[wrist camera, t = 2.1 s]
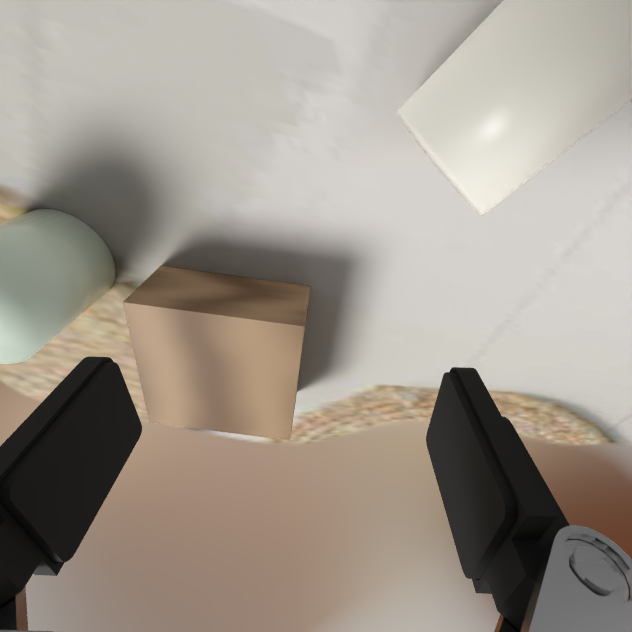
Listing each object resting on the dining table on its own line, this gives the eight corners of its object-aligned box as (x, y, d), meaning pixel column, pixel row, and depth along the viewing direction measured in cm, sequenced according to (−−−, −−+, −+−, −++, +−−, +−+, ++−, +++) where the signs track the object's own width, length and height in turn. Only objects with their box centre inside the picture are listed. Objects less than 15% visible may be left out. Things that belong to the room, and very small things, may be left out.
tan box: (310, 284, 23) (304, 326, 19) (297, 389, 28) (289, 440, 24) (162, 264, 23) (122, 302, 19) (177, 373, 28) (149, 422, 24)
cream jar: (386, 103, 17) (573, -99, 13) (456, 192, 19) (631, 46, 15) (413, 118, 12) (734, -207, 8) (503, 236, 14) (781, 35, 10)
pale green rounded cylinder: (97, 210, 21) (1, 255, 15) (127, 300, 24) (59, 366, 18) (-4, 207, 21) (-137, 250, 15) (40, 297, 24) (-54, 360, 19)
